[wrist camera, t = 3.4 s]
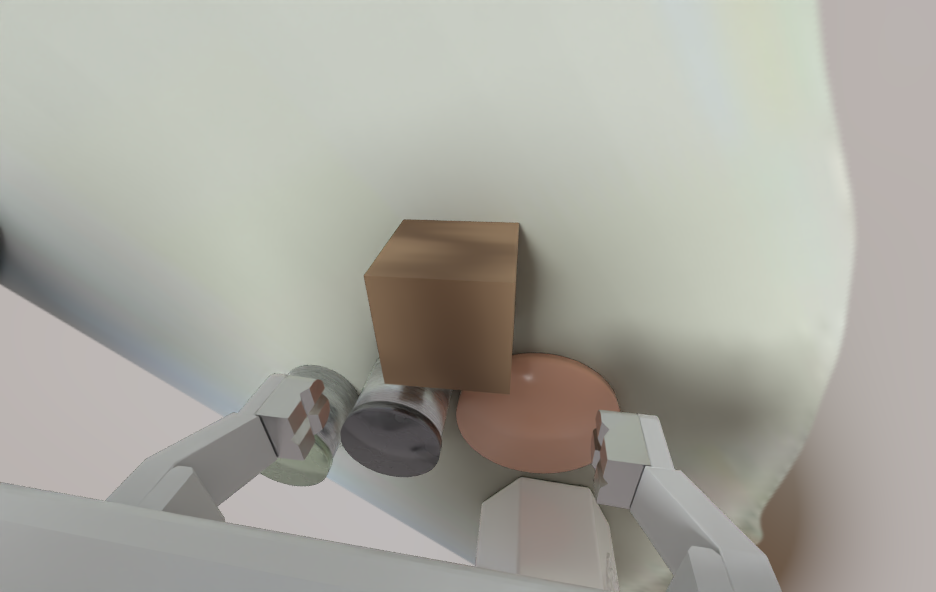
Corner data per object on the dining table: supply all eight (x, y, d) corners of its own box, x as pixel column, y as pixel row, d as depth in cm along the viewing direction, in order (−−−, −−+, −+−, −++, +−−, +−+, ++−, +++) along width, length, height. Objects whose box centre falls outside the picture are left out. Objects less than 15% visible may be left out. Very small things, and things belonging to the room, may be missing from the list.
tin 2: (379, 402, 24) (350, 471, 20) (366, 341, 21) (330, 406, 18) (457, 409, 23) (442, 481, 20) (453, 347, 21) (435, 416, 17)
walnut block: (415, 312, 20) (384, 383, 16) (404, 218, 17) (363, 275, 13) (514, 318, 19) (509, 394, 15) (519, 222, 17) (515, 283, 12)
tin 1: (295, 415, 26) (254, 480, 22) (274, 360, 23) (224, 423, 19) (365, 422, 25) (336, 490, 21) (352, 366, 23) (315, 433, 19)
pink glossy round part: (461, 453, 26) (458, 464, 25) (455, 346, 21) (452, 357, 20) (604, 468, 24) (606, 480, 24) (634, 359, 20) (638, 371, 19)
